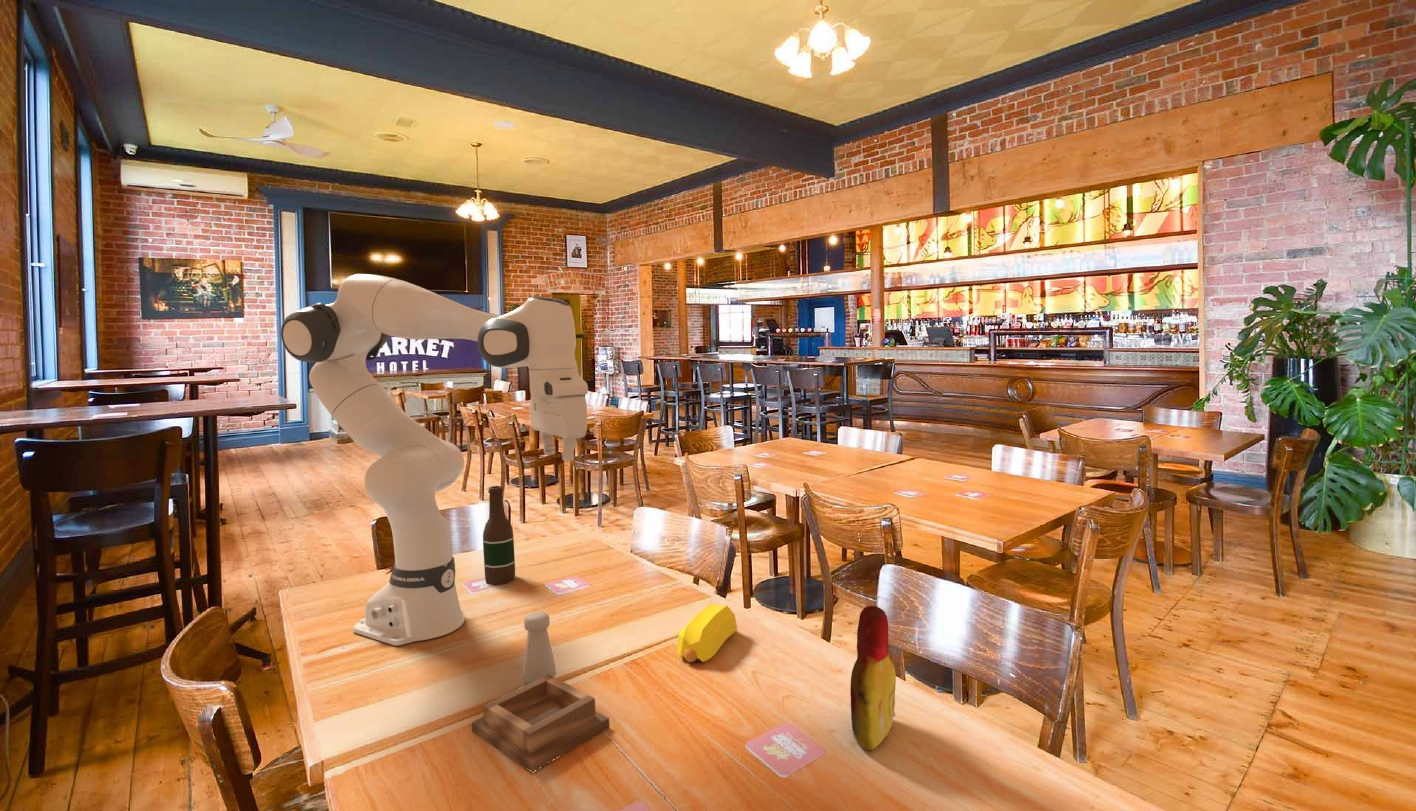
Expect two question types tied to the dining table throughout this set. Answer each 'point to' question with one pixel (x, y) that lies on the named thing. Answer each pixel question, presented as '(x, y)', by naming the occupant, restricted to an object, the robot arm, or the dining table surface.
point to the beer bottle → (498, 542)
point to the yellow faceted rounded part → (706, 633)
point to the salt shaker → (537, 648)
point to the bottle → (872, 680)
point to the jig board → (540, 721)
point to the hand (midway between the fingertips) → (558, 457)
